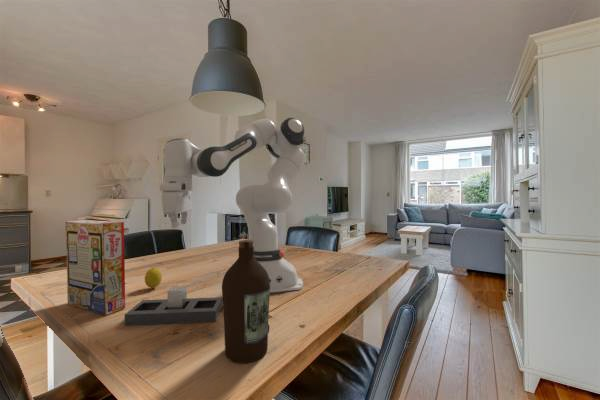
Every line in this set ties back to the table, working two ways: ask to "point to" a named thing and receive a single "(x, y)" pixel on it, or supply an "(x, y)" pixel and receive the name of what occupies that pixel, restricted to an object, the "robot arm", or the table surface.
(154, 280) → the lemon
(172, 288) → the steel peg
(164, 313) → the grey compartment tray
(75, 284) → the cereal box
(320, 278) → the table surface
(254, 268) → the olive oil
